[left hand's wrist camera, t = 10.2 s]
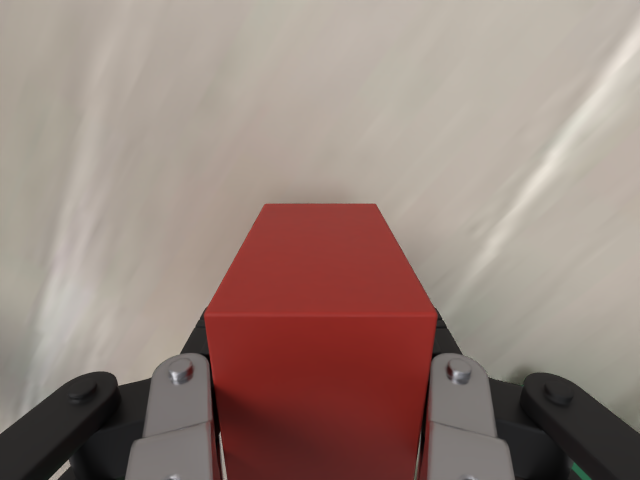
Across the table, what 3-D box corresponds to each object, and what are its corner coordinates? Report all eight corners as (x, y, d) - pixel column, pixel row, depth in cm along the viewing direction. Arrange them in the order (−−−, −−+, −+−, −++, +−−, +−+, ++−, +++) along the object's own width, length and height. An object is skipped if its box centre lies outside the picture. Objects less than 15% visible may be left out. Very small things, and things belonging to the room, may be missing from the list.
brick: (376, 203, 14) (439, 313, 7) (368, 327, 17) (409, 514, 9) (264, 203, 14) (201, 313, 7) (271, 327, 17) (231, 514, 9)
